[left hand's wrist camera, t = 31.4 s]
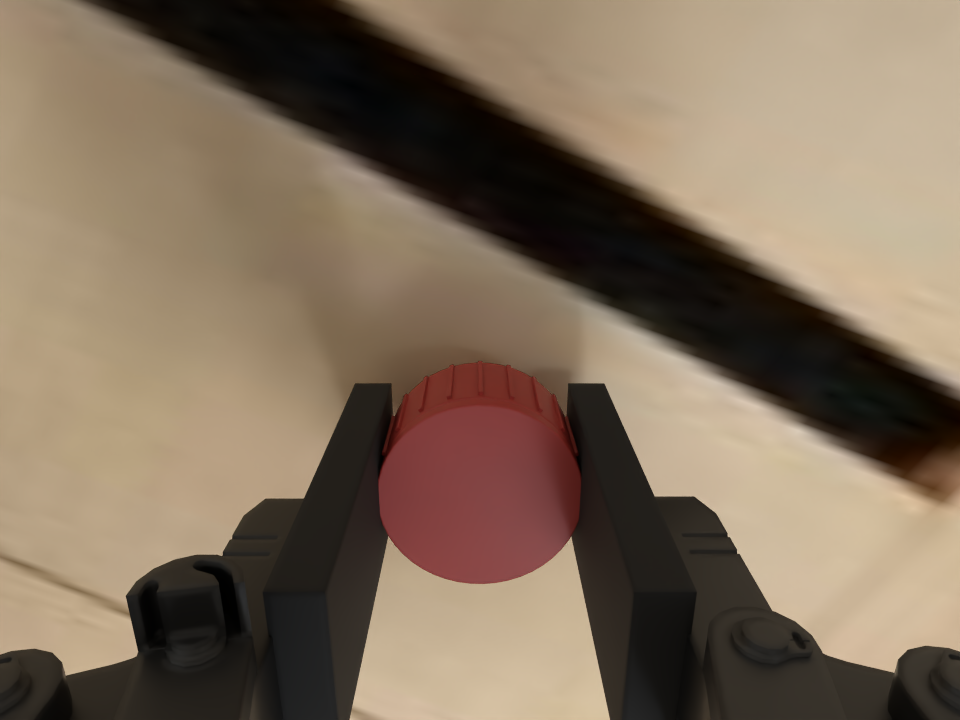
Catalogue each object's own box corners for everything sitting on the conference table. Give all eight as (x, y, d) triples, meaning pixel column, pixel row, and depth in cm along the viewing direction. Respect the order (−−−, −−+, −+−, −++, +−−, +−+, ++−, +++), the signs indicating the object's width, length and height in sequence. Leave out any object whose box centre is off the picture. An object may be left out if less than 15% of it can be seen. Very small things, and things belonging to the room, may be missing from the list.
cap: (361, 388, 14) (341, 435, 12) (544, 335, 14) (556, 375, 12) (421, 541, 15) (413, 607, 13) (590, 497, 15) (608, 557, 13)
